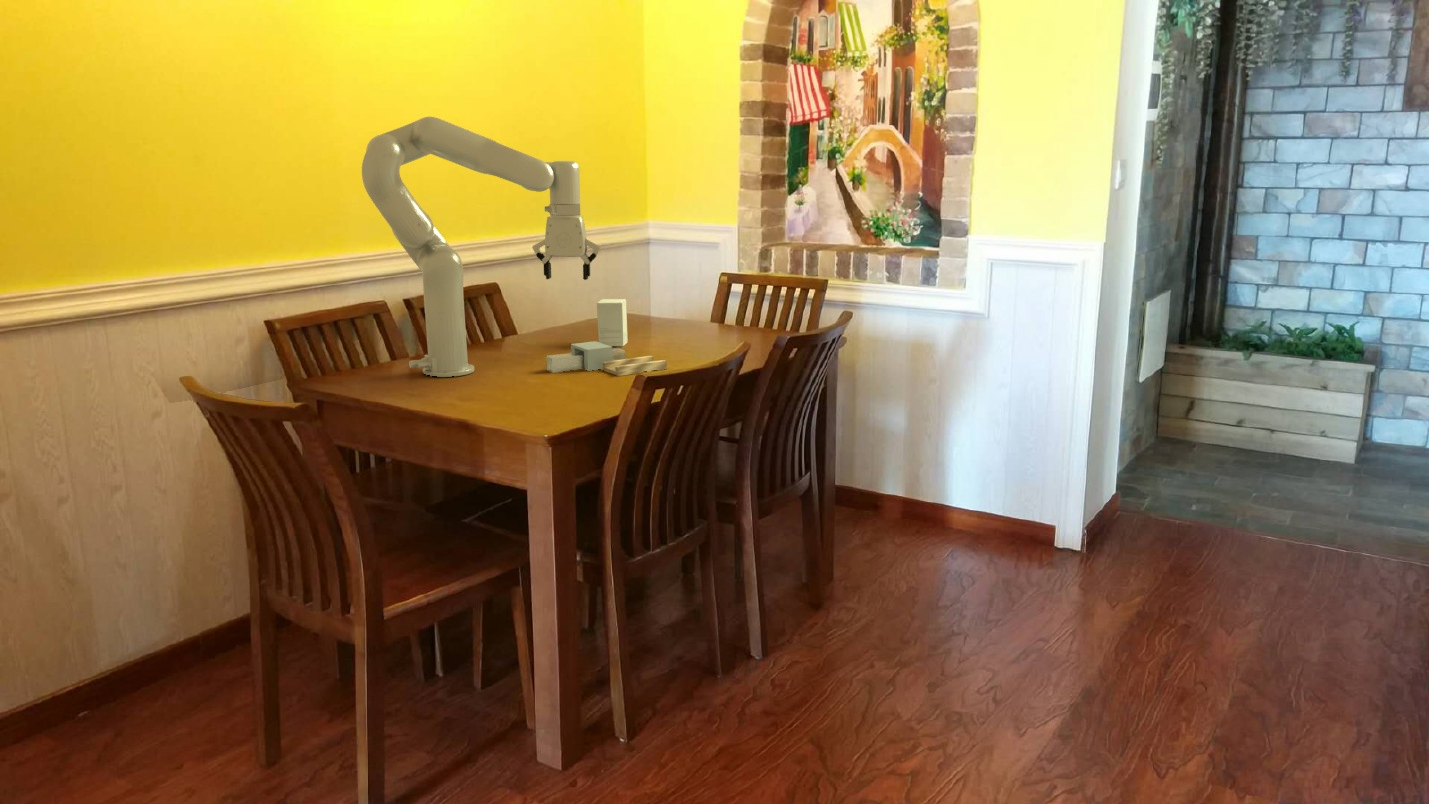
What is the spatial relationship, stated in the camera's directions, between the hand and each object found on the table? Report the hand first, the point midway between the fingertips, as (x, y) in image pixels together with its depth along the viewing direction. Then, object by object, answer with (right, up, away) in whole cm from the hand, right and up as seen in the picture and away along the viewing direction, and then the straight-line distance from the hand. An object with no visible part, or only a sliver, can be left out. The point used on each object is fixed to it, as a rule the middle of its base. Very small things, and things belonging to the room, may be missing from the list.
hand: (567, 278), depth 266 cm
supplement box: (+9, -15, +31) cm, 36 cm away
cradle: (+18, -23, -3) cm, 29 cm away
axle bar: (+5, -23, 0) cm, 24 cm away
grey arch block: (+6, -22, +1) cm, 23 cm away
